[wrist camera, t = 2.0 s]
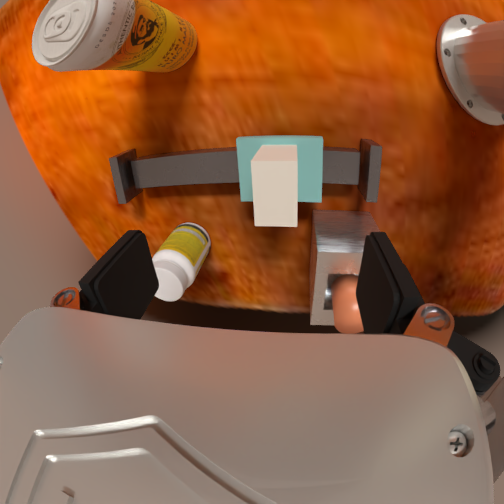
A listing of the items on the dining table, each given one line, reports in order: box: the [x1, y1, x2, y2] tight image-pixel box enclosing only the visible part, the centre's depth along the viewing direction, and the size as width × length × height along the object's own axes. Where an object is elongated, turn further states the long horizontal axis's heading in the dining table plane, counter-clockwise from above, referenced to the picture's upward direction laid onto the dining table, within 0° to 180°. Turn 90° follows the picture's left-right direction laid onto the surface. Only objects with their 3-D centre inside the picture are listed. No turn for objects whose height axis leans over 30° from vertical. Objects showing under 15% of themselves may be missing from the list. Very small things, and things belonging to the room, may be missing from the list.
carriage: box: [236, 136, 323, 227], centre depth 20 cm, size 7×6×9 cm
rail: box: [109, 139, 382, 204], centre depth 24 cm, size 25×5×4 cm, turn 94°
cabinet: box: [309, 210, 380, 325], centre depth 25 cm, size 6×8×8 cm
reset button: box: [331, 274, 364, 334], centre depth 21 cm, size 3×3×4 cm
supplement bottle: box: [152, 223, 211, 301], centre depth 27 cm, size 5×5×8 cm
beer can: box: [32, 0, 197, 73], centre depth 13 cm, size 6×6×15 cm
